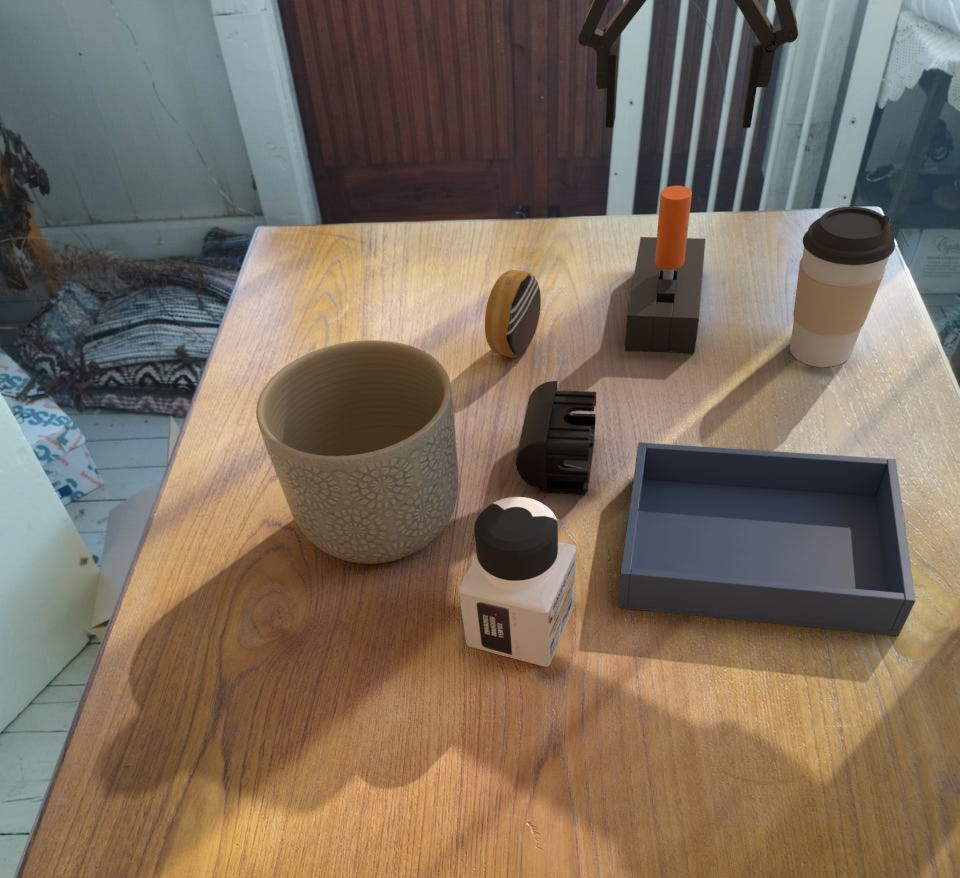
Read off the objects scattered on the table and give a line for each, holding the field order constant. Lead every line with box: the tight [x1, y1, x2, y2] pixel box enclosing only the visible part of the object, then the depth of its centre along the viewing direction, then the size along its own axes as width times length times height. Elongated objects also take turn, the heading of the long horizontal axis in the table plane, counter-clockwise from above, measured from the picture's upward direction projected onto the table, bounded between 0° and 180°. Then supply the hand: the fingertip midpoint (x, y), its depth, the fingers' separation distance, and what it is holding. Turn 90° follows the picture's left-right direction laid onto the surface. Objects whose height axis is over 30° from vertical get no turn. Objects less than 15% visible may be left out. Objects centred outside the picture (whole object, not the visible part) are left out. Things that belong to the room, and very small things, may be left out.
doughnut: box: [484, 269, 542, 359], centre depth 100 cm, size 9×4×10 cm, turn 153°
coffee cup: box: [789, 205, 896, 368], centre depth 93 cm, size 9×9×15 cm
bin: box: [617, 441, 916, 637], centre depth 79 cm, size 24×18×4 cm
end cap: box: [515, 380, 597, 495], centre depth 88 cm, size 10×7×7 cm
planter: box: [255, 339, 459, 565], centre depth 81 cm, size 17×17×15 cm
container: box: [458, 496, 577, 668], centre depth 72 cm, size 8×8×13 cm
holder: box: [624, 236, 707, 354], centre depth 105 cm, size 8×18×4 cm, turn 169°
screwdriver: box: [655, 185, 693, 280], centre depth 101 cm, size 3×3×14 cm
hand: (677, 122), depth 89 cm, fingers open, 13 cm apart
